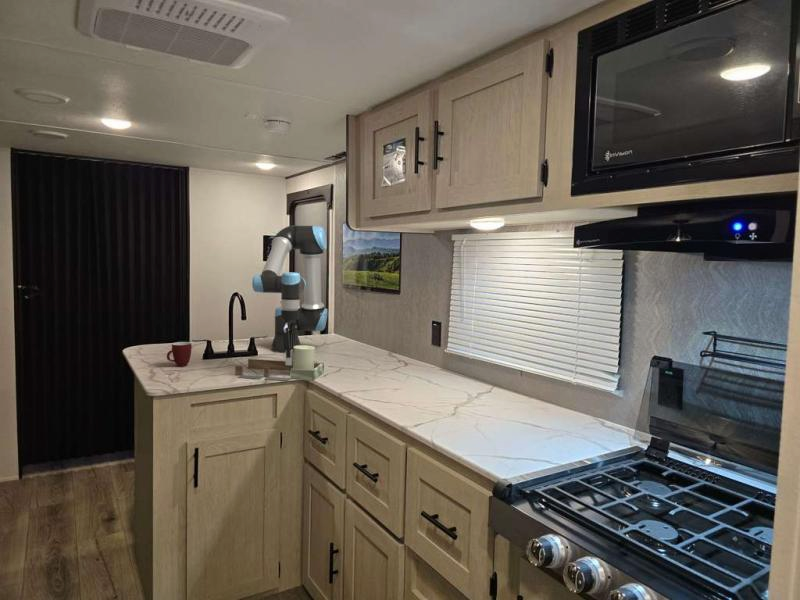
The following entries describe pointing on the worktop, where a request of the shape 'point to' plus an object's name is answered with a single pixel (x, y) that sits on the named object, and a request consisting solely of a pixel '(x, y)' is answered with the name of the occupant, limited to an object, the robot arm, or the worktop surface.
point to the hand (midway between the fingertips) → (289, 364)
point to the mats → (265, 378)
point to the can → (303, 357)
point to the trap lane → (281, 365)
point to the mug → (180, 353)
